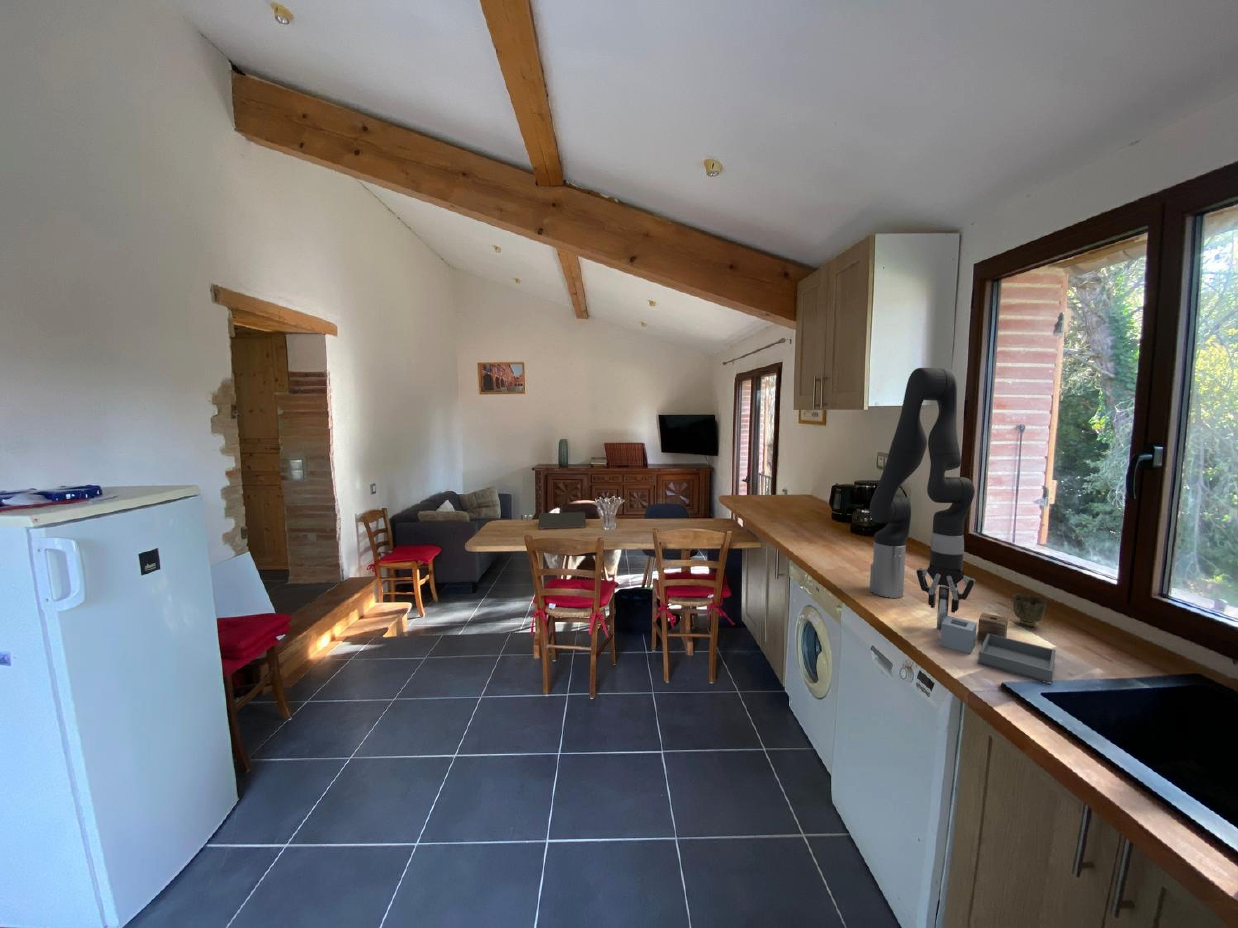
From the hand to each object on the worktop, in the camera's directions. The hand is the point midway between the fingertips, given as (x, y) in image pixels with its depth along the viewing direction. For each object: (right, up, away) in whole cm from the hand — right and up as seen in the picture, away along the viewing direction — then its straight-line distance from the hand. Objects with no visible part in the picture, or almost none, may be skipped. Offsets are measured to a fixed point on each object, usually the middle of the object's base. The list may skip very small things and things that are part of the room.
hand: (943, 609), depth 135 cm
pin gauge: (0, -6, +1) cm, 6 cm away
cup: (+25, -5, +3) cm, 26 cm away
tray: (+6, -8, -17) cm, 20 cm away
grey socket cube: (-2, -7, -8) cm, 11 cm away
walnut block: (+9, -6, -6) cm, 13 cm away
